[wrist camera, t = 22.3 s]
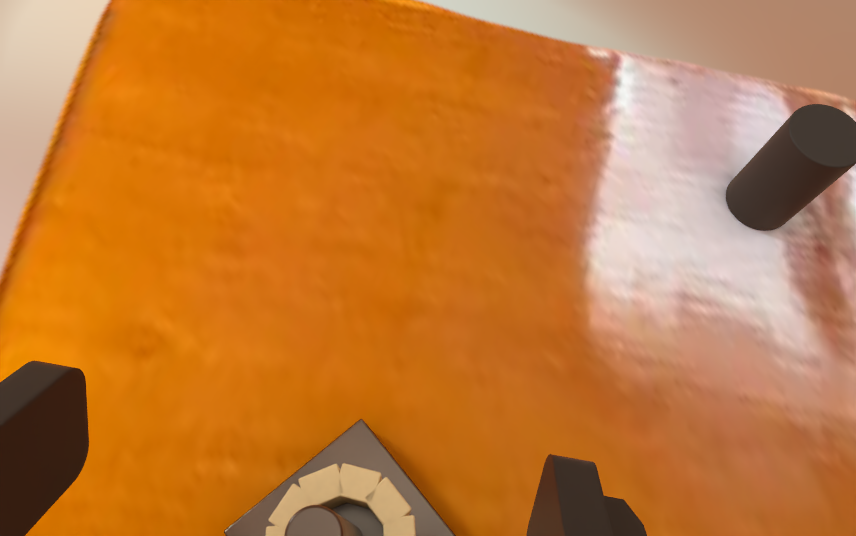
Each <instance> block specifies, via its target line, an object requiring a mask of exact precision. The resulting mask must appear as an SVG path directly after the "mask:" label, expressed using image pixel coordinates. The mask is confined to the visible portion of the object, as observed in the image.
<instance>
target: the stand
mask: <svg viewBox="0 0 856 536" xmlns="http://www.w3.org/2000/svg"><path fill="white" fill-rule="evenodd" d="M343 463H346V464H350V465H353V466H357V467H361V468H365V469H369V470H373V471H376V472H380V473H381V476H382V479H384V478H385V477H387V478H388V479H389V480H390V481H391V483H392V484H393V485H394V486H395V488H396V489H397V490H398V491H399V493H400V494H401V495H402V497H403V498H404V499H405V500H406V502H407V503H408V504H409V506H410V507H411V512H410V514H409V515H413V516H414V517H415V530H416V536H455V534H454V533H453V532H452V531H451V529H450V528H449V527H448V526H447V524H446V523H445V522H444V521H443V519H442V518H441V517H440V516H439V514H438V513H437V512H436V511H435V509H434V508H433V507H432V506H431V504H430V503H429V502H428V501H427V499H426V498H425V497H424V496H423V494H422V493H421V492H420V491H419V489H418V488H417V487H416V486H415V484H414V483H413V482H412V481H411V479H410V478H409V477H408V476H407V474H406V473H405V472H404V471H403V469H402V468H401V467H400V466H399V464H398V463H397V462H396V461H395V459H394V458H393V457H392V456H391V454H390V453H389V452H388V451H387V449H386V448H385V447H384V446H383V444H382V443H381V442H380V441H379V439H378V438H377V437H376V436H375V434H374V433H373V432H372V431H371V429H370V428H369V427H368V426H367V424H366V423H365V422H364V421H363V420H362V419H360V420H359V421H357V422H356V423H355V424H354V425H353V426H351V427H350V428H349V429H348V430H347V431H345V432H344V433H343V434H342V435H340V436H339V437H338V438H337V439H336V440H334V441H333V442H332V443H331V444H329V445H328V446H327V447H326V448H325V449H323V450H322V451H321V452H320V453H318V454H317V455H316V456H315V457H314V458H312V459H311V460H310V461H309V462H308V463H306V464H305V465H304V466H303V467H301V468H300V469H299V470H298V471H297V472H295V473H294V474H293V475H292V476H290V477H289V478H288V479H287V480H286V481H284V482H283V483H282V484H281V485H279V486H278V487H277V488H276V489H275V490H273V491H272V492H271V493H270V494H268V495H267V496H266V497H265V498H264V499H262V500H261V501H260V502H259V503H258V504H256V505H255V506H254V507H253V508H251V509H250V510H249V511H248V512H247V513H245V514H244V515H243V516H242V517H240V518H239V519H238V520H237V521H236V522H234V523H233V524H232V525H231V526H229V527H228V528H227V529H226V530H225V531H224V533H225V535H226V536H266V527H268V526H275V525H274V524H272V523H271V522H269V518H270V516H271V515H272V513H273V512H274V510H275V509H276V508H277V506H278V505H279V503H280V502H281V500H282V499H283V497H284V496H285V494H286V493H287V491H288V490H289V488H290V487H291V485H292V484H296V485H297V486H299V487H300V484H299V478H302V477H304V476H306V475H309V474H311V473H314V472H316V471H319V470H321V469H324V468H326V467H329V466H331V465H333V464H337V465H338V466H339V468H340V469H341V467H342V464H343ZM300 488H301V487H300ZM284 536H384V534H383V526H382V524H381V523H380V522H379V520H378V519H377V518H376V517H375V515H374V514H373V513H372V511H371V510H370V509H368V508H365V507H361V506H357V505H353V504H350V503H345V504H343V505H340V506H338V507H336V508H333V509H329V508H328V507H325V506H322V505H310V506H306V507H304V508H302V509H300V510H299V511H297V512H296V513H295V514H294V515H293V516H292V517H291V519H290V520H289V522H288V524H287V526H286V529H285V534H284Z"/></svg>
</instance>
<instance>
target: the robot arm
mask: <svg viewBox="0 0 856 536" xmlns="http://www.w3.org/2000/svg"><path fill="white" fill-rule="evenodd" d="M88 447H89V437H88V418H87V398H86V381H85V376H84V374H83V372H82V371H81V370H80V369H78V368H73V367H67V366H61V365H56V364H50V363H45V362H39V361H31V362H28V363H27V364H25V365H24V366H22V367H21V368H20V369H18V370H17V371H15V372H14V373H13V374H11V375H10V376H9V377H7V378H6V379H4V380H3V381H2V382H0V536H25V535H26V534H27V532H28V531H29V530H30V529H31V528H32V527H33V526H34V525H35V524H36V523H37V521H38V520H39V519H40V518H41V517H42V516H43V515H44V514H45V513H46V512H47V511H48V509H49V508H50V507H51V506H52V505H53V504H54V503H55V502H56V501H57V500H58V498H59V497H60V496H61V495H62V494H63V493H64V492H65V491H66V490H67V489H68V488H69V486H70V485H71V484H72V483H73V482H74V481H75V480H76V478H77V477H78V475H79V474H80V472H81V470H82V468H83V466H84V463H85V460H86V457H87V453H88ZM527 536H647V534H646V531H645V528H644V525H643V524H642V522H641V521H640V520H639V519H638V517H637V516H636V515H635V513H634V512H633V511H632V510H631V508H630V507H629V506H628V505H627V503H626V502H625V501H624V499H618V498H613V497H607V496H604V495H603V491H602V487H601V483H600V479H599V475H598V471H597V468H596V465H595V463H594V462H590V461H584V460H579V459H573V458H567V457H562V456H556V455H551V454H550V455H548V457H547V459H546V462H545V465H544V468H543V472H542V476H541V480H540V483H539V487H538V491H537V495H536V499H535V502H534V506H533V510H532V514H531V517H530V521H529V525H528V530H527Z"/></svg>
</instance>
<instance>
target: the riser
mask: <svg viewBox="0 0 856 536" xmlns="http://www.w3.org/2000/svg"><path fill="white" fill-rule="evenodd" d="M855 164H856V122H855V121H854V120H853V119H852V118H851V117H850V116H849V115H847V114H846V113H844V112H842V111H841V110H839V109H836V108H834V107H831V106H827V105H821V104H812V105H807V106H804V107H801V108H799V109H798V110H796V111H795V112H794V113H793V114H792V115H791V116H790V118H789V119H788V120H787V121H786V122H785V123H784V124H783V125H782V126H781V127H780V129H779V130H778V131H777V132H776V133H775V134H774V135H773V136H772V137H771V138H770V139H769V141H768V142H767V143H766V144H765V145H764V146H763V147H762V148H761V149H760V150H759V152H758V153H757V154H756V155H755V156H754V157H753V158H752V159H751V160H750V161H749V163H748V164H747V165H746V166H745V167H744V168H743V169H742V170H741V171H740V172H739V174H738V175H737V176H736V177H735V178H734V179H733V180H732V181H731V182H730V184H729V186H728V188H727V191H726V200H727V204H728V207H729V209H730V210H731V212H732V213H733V215H734V216H735V217H736V218H737V219H738V220H739V221H741V222H742V223H744V224H745V225H747V226H749V227H751V228H754V229H758V230H772V229H776V228H779V227H781V226H782V225H783V224H785V223H786V222H787V221H788V220H789V219H791V218H792V217H793V216H794V215H795V214H797V213H798V212H799V211H800V210H801V209H803V208H804V207H805V206H806V205H807V204H808V203H810V202H811V201H812V200H813V199H814V198H816V197H817V196H818V195H819V194H820V193H822V192H823V191H824V190H825V189H826V188H827V187H829V186H830V185H831V184H832V183H833V182H835V181H836V180H837V179H838V178H839V177H841V176H842V175H843V174H844V173H845V172H847V171H848V170H849V169H850V168H851V167H852V166H854V165H855Z"/></svg>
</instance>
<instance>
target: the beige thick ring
mask: <svg viewBox="0 0 856 536" xmlns="http://www.w3.org/2000/svg"><path fill="white" fill-rule="evenodd" d="M299 484H300V487H301V488H300V487H299V486H297V485H296V484H292V485H291V487H290V488H289V490H288V491H287V493H286V494H285V496H284V497H283V499H282V500H281V502H280V503H279V505H278V506H277V508H276V509H275V510H274V512H273V513H272V515H271V516H270V518H269V522H271V523H272V524H274V525H275V526H268V527H266V536H284V534H285V529H286V526H287V524H288V522H289V520H290V519H291V517H292V516H293V515H294V514H295V513H296V512H297V511H299V510H300V509H302V508H304V507H306V506H310V505H322V506H325V507H328V508H329V509H333V508H336V507H338V506H340V505H343V504H345V503H350V504H353V505H357V506H361V507H365V508H368V509H370V510H371V511H372V513H373V514H374V515H375V517H376V518H377V519H378V520H379V522H380V523H381V524H382V526H383V534H384V536H416V530H415V517H414V516H413V515H409V514H410V512H411V507H410V506H409V504H408V503H407V502H406V500H405V499H404V498H403V497H402V495H401V494H400V493H399V491H398V490H397V489H396V488H395V486H394V485H393V484H392V483H391V481H390V480H389V479H388V478H387V477H385V478H384V479H382V476H381V473H380V472H376V471H373V470H369V469H365V468H361V467H357V466H353V465H350V464H346V463H343V464H342V467H341V469H340V468H339V466H338V465H337V464H333V465H331V466H329V467H326V468H324V469H321V470H319V471H316V472H314V473H311V474H309V475H306V476H304V477H302V478H299Z"/></svg>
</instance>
